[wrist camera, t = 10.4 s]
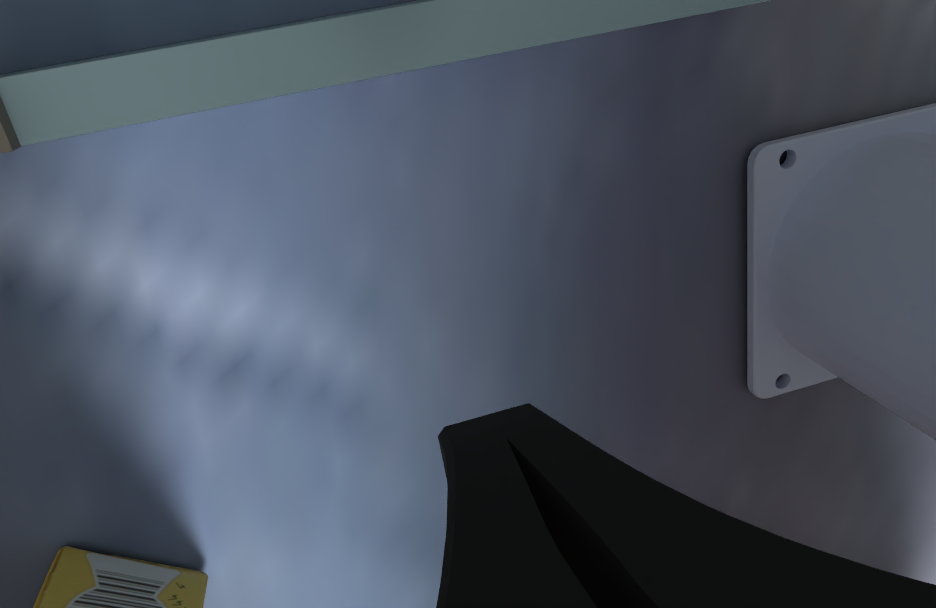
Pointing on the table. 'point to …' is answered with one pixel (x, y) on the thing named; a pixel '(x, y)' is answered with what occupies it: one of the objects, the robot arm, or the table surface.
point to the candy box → (118, 583)
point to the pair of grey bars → (301, 59)
